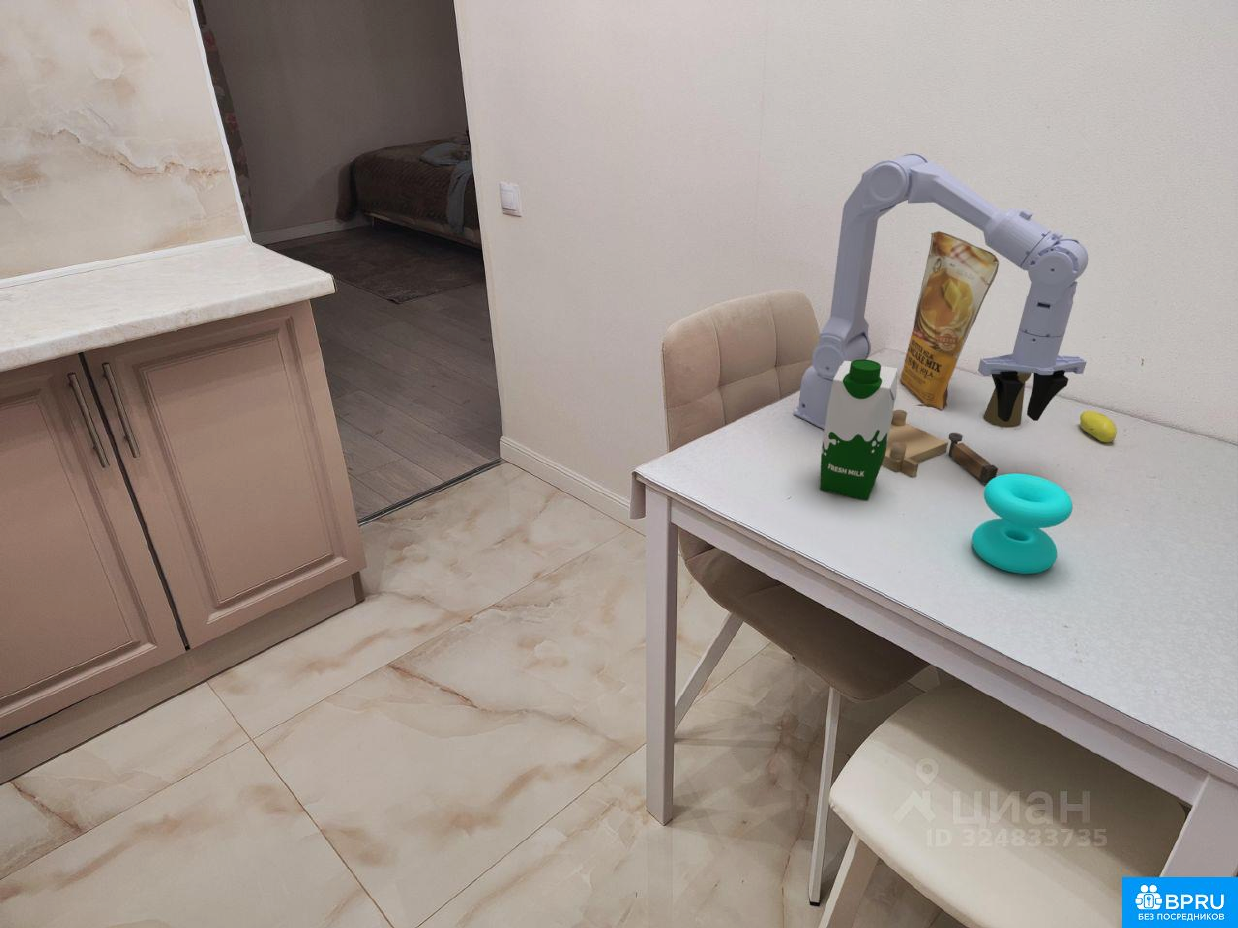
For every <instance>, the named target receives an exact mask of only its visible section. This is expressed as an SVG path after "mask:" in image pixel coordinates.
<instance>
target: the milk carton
mask: <svg viewBox="0 0 1238 928" xmlns="http://www.w3.org/2000/svg"><path fill="white" fill-rule="evenodd" d="M897 375H898V368H896V367H891V366H890V367H889V366H883V365H881V363H879V362H878V361H875V360H871V359H859V360H854V361H852V362H851V361H844V362H843V364H842V365H841V366H840V367H839V369H838V371H837V373H836V375H835V377H834V379H833V382H832V387H831V394H830V398H829V403H828V409H827V416H826V424H825V430H824V432H823V440H822V447H821V456H820V477H819V478H820V480H819V481H820V484H819V491H823V492H827V493H831V494H836V495H842V496H847V497H851V498H856V499H859V500H865V501H868V500H869V498H870V496H871V493H872V491H873V488H874V485H875V483H876V480H877V477H878V475H879V473H880V470H881V468H882V466H883V465H882V463H883V460H884V457H885V453H886V448H887V443H888V437H889V432H890V426H891V421H892V416H893V411H894V410H895V409H894V408H895V402H896V399H897V393H898V391H897V389H898V387H897V384H898V383H897V379H898V378H897V377H898V376H897Z"/></svg>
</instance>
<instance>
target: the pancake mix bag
mask: <svg viewBox="0 0 1238 928" xmlns="http://www.w3.org/2000/svg"><path fill="white" fill-rule="evenodd" d="M930 234H931V239H930V246H929V252H928V255H927V258H926V264H925V269H924V274H923V279H922V282H921V288H920V293H919V296H918V299H917V303H916V306H915V308H916V309H915V316H914V320H913V321H914V322H913V329H912V333H911V336H910V340H909V344H908V348H907V349H906V350H907V351H906V355H905V358H904V364H903V368H902V371H901V375H900V383H902V385H903V386H904V387H905V388H906V389H907V390H908V391H909V392H911V394H912V395H914V396H915V397H916V398H917V400H919V401H920V402H921V403H922V404H924V405H925V406H926V407H931V408H932V407H933V408H937V409H939V410H941V411H943V410H944V409H945V408H946V407H947V406H948V404H947V402H948V397H949V392H948V391H949V390H948V387H949V383H950V380H951V379H952V376H953V375H954V371H955V369H956V366H957V364H958V361H959V358H960V355H961V354H962V351H963V349H964V346H965V343H966V342H967V339H968V336H969V335H970V332H971V329H972V328H973V326H974V324H975V322H976V320H977V316H978V314H979V313H980V310H981V307H982V305H983V303H984V300H985V298H986V295H988V292H989V290H990V288H991V286H992V284H993V283H994V281H995V279H996V276H997V273H998V271H999V266H1000V260H999V259H998V258H997V256H996V255H995V254H994V253H993V252H991V251H989V250H986V249H984V248H982V247H978V246H976V245H974V244H973V243H970V242H968V241H966V240H964V239H962V238H959V237H956V236H953V235H952V234H948V233H945V232H943V231H940V230H937V231H935V232H934V231H933V232H931V233H930Z"/></svg>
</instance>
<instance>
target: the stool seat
mask: <svg viewBox="0 0 1238 928" xmlns="http://www.w3.org/2000/svg"><path fill="white" fill-rule="evenodd" d="M907 415H908V412H907V410H906V411H905V410H902V409H893V415H892V421H891V426H890V432H889V437H888V443H887V448H886V453H885V457H884V460H883V463H882V465H881V466H883V467H884V468H887V469H889V470H891V471H892V472H894V473H898V472H901V473H903V472H904V473H903V474H905V475H906V474H907V476H908V475H909V476H908V477H910V476H911V477H910V478H914V477H916V476H917V473H918V468H919V464H921V463H923V462H925V461H927V460H931V459H932V458H935V457H937V455H938V456H941V455H942V454H945V453H946V452H947V450H948V454H947V456H948V457H949V458H952V457H951V454H952V450H953V446H954V444H958V443H961V442H962V441H963V434H961V433H959V432H950V433H949V434H948V440H949V441H950V443H949V441H947V440H944V439H942V438H940V437H938V436H935V435H933V434H932V433H929V432H927V431H925V430H923V429H920V428H918V427H915V426H913V425H911V424H909V423H907V422H906V420H907ZM948 445H949V448H948Z"/></svg>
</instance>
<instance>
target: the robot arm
mask: <svg viewBox="0 0 1238 928" xmlns="http://www.w3.org/2000/svg"><path fill="white" fill-rule="evenodd" d="M904 202H907V204H929V203H931V204H932V203H934V204H936V205H938V206H940V207H941V208H943V209H945V210H946V211H948V212H950V213H951V214H953V215H955V216H957V217H958V218H960V219H962V220H963V221H965V222H967V223H969V225H970V224H971V225H972V226H973V227H975V228H976V229H979V230H980V231H982V232H983V236H984V243H985V245H986V246H987V247H989V248H990V249H992V250H993V251H995V252H996V253H998V254H1000V255H1001V256H1002V257H1003V258H1005V259H1007V260H1008V261H1009V262H1011V263H1013V264H1014V265H1016V266H1017V267H1018V268H1020V269H1021V270H1023V271H1027V273H1028V278H1029V281H1030V282H1031V284H1030V288H1029V291H1028V294H1027V296H1026V300H1025V303H1024V306H1023V311H1022V315H1021V318H1020V323H1019V325H1018V329H1017V330H1018V331H1017V334H1016V339H1015V343H1014V346H1013V350H1012V353H1009V354H1004V355H998V356H992V357H987V358H985V357H984V358H980V361H979V364H978V368H977V372H978V373H980V374H981V375H982V376H983V377H990V376H991V377H992V380H993V384H994V389H995V388H996V392H997V400H998V417H999V418H1000V419H1001V420H1002V421H1004V422H1008V421H1009V419H1010V417H1011V414H1012V410H1013V407H1014V403H1015V401H1016V398H1017V396H1018V394H1019V392H1020V390H1021V389H1022V387H1023V386H1024V384H1023V383H1022V382H1021V381H1020V380H1018V379H1019V376H1017V374H1018V373H1032V374H1033V379H1032V388H1031V393H1030V398H1029V401H1028V405H1027V412H1026V416H1027V417H1028V418H1030V419H1031V420H1032V421H1033V422H1036V421H1039V419H1040V418H1041V416H1042V414H1043V413H1044V411H1045V410H1046V408H1047V407H1048V405H1049V404H1050V403H1051V401H1052V400H1053V399H1054V398H1055V397H1056V396H1057V394H1058V393H1060V391H1062V390H1063V389H1064V388H1066V387H1067V386H1068V383H1069V378H1068V377H1067V376H1065V373H1074V374H1076V375H1083V374H1084V372H1085V369H1086V365H1087V361H1086V360H1085V359H1084V358H1082V357H1081V356H1075V355H1074V356H1073V355H1072V356H1071V355H1070V356H1069V355H1062V354H1061V355H1059V353H1060V350H1061V347H1062V343H1063V338H1064V336H1065V333H1066V329H1067V326H1068V322H1069V319H1070V315H1071V311H1072V308H1073V304H1074V296H1075V294H1076V291H1077V286H1078V283H1079V282H1078V281H1077V279H1079V277H1081V276H1082V275H1083V274H1084V273H1085V270H1086V269H1087V267H1088V263H1089V254H1088V251H1087V249H1086V248H1085V246H1083V244H1082V243H1080V241H1079V240H1078V239H1075V238H1072V237H1064V238H1063V235H1064V234H1063V233H1062V232H1060V231H1058V230H1056V231H1054V232H1053V231H1051V229H1048V228H1047V227H1045V226H1044V225H1042V224H1041V223H1039V222H1037V221H1036V220H1034V219H1033V218H1032V217H1033V215H1034V213H1033V212H1032V211H1030V210H1029V209H1027V208H1025V209H1022V210H1021V211H1020V210H1019V209H1018V208H1015V207H1013V208H1009V209H1004V210H1001V209H999V208H998V207H996V206H995V205H994V204H993V203H991V202H989V201H988V200H987V199H985V198H984V197H983V196H981V195H980V194H978V193H977V192H976V191H974V190H973V189H972V188H971V187H969V186H967V184H965V183H964V182H962V181H961V180H960V179H958V178H957V177H956V176H954V175H953V174H951V173H950V172H949V171H947V170H946V169H945V168H944V167H942V166H941V165H940V164H939V163H938V162H934V161H932V160H931V161H929V160H928V158H927V157H925V156H924V155H922V154H920V153H915V152H911V153H907V154H904V155H902V156H900V157H896V158H892V159H885V160H881V161H879V162H877V163H876V164H873V166H871V167H870V168H868V169H867V170H865V171H864V172H862V173H861V179H860V181H859V183H857V185H856V187H855V188H854V189H853V191H852V192H851V194H850V195H849V197H847V200H846V201H845V203H844V204H843V207H842V208H843V209H842V216H841V222H840V223H841V225H840V232H839V241H838V242H839V243H838V249H837V256H836V263H835V264H836V266H835V273H834V274H835V275H834V283H833V288H832V289H833V290H832V298H831V306H830V307H831V308H830V315H829V318H828V320H827V322H826V323H825V325H824V327H823V328H822V330H821V331H820V333H819V340H818V343H817V344H816V346H815V348H814V349H813V351H812V355H811V362H812V365H810V366H808V368H807V369H806V370H805V372H804V374H803V375H802V377H801V382H800V388H799V395H798V396H799V397H798V406H797V410H795V411H794V412H793V414H794V415H795V416H797V417H799V418H801V419H803V420H805V421H807V422H809V423H811V424H812V425H815V426H816V427H819V428H820V429H823V430H824V431H825V424H826V416H827V409H828V403H829V398H830V394H831V387H832V382H833V379H834V377H835V375H836V373H837V371H838V369H839V367H840V366H841V365H842V364H843V362H844V361H851V362H852V361H854V360H859V359H866V360H868V358H869V356H870V354H871V351H872V350H871V349H872V343H871V341H870V340H871V339H870V337H869V327H870V326H869V323H868V321H867V319H866V318H865V311H866V305H867V300H868V293H869V292H868V291H869V286H870V278H871V272H872V271H871V269H872V265H873V258H874V251H875V244H876V243H875V242H876V235H877V229H878V222H879V220H880V219H881V217H883V216H884V215H885V214H886V213H888V212H890V211H891V210H892V209H894V208H895V207H896V206H897V205H898V204H901V203H904Z"/></svg>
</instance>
